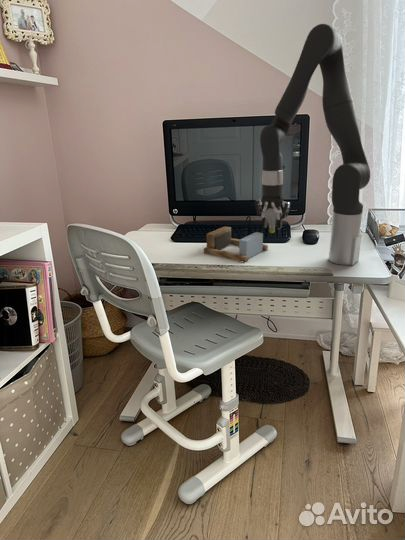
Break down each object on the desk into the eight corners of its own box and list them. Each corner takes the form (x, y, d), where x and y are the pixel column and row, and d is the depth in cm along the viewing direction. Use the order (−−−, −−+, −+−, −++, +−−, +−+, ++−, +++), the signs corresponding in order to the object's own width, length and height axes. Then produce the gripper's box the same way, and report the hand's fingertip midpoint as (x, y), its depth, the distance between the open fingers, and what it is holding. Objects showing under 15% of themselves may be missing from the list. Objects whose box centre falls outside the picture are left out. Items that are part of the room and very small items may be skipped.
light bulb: (269, 230, 165) (269, 204, 161) (281, 232, 161) (282, 206, 158) (261, 233, 161) (261, 207, 157) (274, 235, 158) (275, 209, 154)
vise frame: (267, 250, 160) (268, 232, 158) (245, 262, 148) (245, 243, 146) (227, 242, 170) (227, 225, 168) (203, 253, 159) (203, 235, 156)
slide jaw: (262, 250, 159) (262, 233, 157) (246, 259, 151) (246, 241, 148) (254, 249, 161) (254, 231, 159) (238, 257, 153) (238, 239, 150)
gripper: (295, 182, 153) (293, 228, 159) (259, 180, 161) (259, 224, 167) (286, 185, 148) (285, 233, 154) (249, 183, 156) (250, 228, 162)
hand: (271, 228), depth 160 cm, fingers closed on light bulb, 5 cm apart
